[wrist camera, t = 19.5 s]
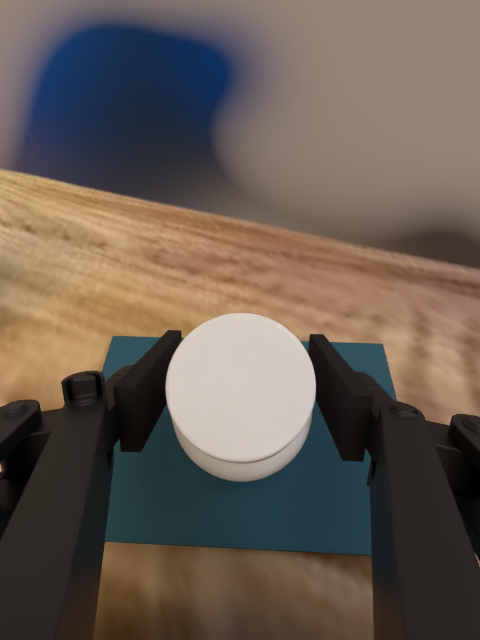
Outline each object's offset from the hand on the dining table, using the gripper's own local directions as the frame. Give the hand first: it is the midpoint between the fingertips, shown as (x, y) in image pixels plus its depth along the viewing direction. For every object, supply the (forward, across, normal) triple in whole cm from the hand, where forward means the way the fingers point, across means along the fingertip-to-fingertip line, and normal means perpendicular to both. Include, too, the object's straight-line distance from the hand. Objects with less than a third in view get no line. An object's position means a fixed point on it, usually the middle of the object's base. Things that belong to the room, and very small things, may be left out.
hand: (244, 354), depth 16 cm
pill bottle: (0, 0, -5) cm, 5 cm away
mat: (0, 0, -5) cm, 5 cm away
